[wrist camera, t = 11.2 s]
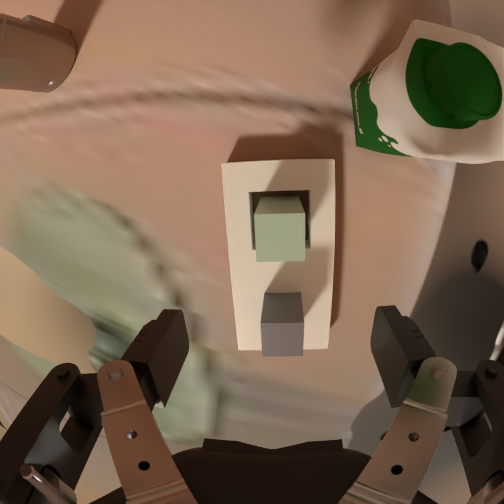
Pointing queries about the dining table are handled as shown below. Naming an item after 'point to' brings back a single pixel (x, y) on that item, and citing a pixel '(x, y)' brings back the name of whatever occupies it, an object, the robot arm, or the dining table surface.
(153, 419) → the robot arm
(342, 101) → the dining table surface
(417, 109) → the milk carton
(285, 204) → the green plug
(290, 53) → the dining table surface
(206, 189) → the dining table surface
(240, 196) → the white plate with window
